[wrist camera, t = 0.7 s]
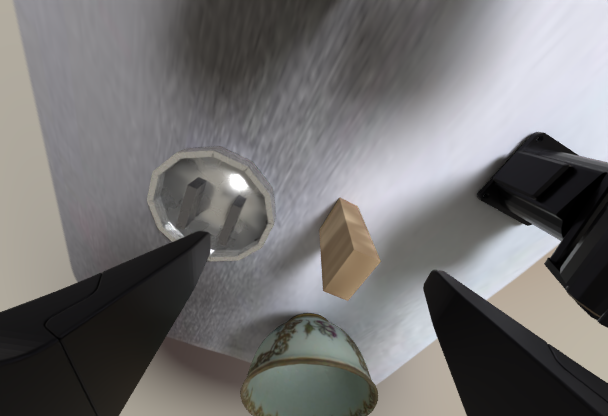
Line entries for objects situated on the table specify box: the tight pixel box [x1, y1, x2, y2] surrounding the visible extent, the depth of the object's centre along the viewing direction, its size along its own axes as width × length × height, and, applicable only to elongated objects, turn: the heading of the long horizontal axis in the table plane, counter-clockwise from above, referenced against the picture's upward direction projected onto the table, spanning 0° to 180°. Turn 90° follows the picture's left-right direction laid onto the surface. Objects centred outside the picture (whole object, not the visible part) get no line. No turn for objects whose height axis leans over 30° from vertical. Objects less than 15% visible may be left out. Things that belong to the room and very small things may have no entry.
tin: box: [147, 146, 276, 261], centre depth 21 cm, size 11×11×2 cm
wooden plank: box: [319, 198, 381, 301], centre depth 19 cm, size 2×4×8 cm, turn 153°
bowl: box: [240, 313, 378, 416], centre depth 26 cm, size 14×13×8 cm
